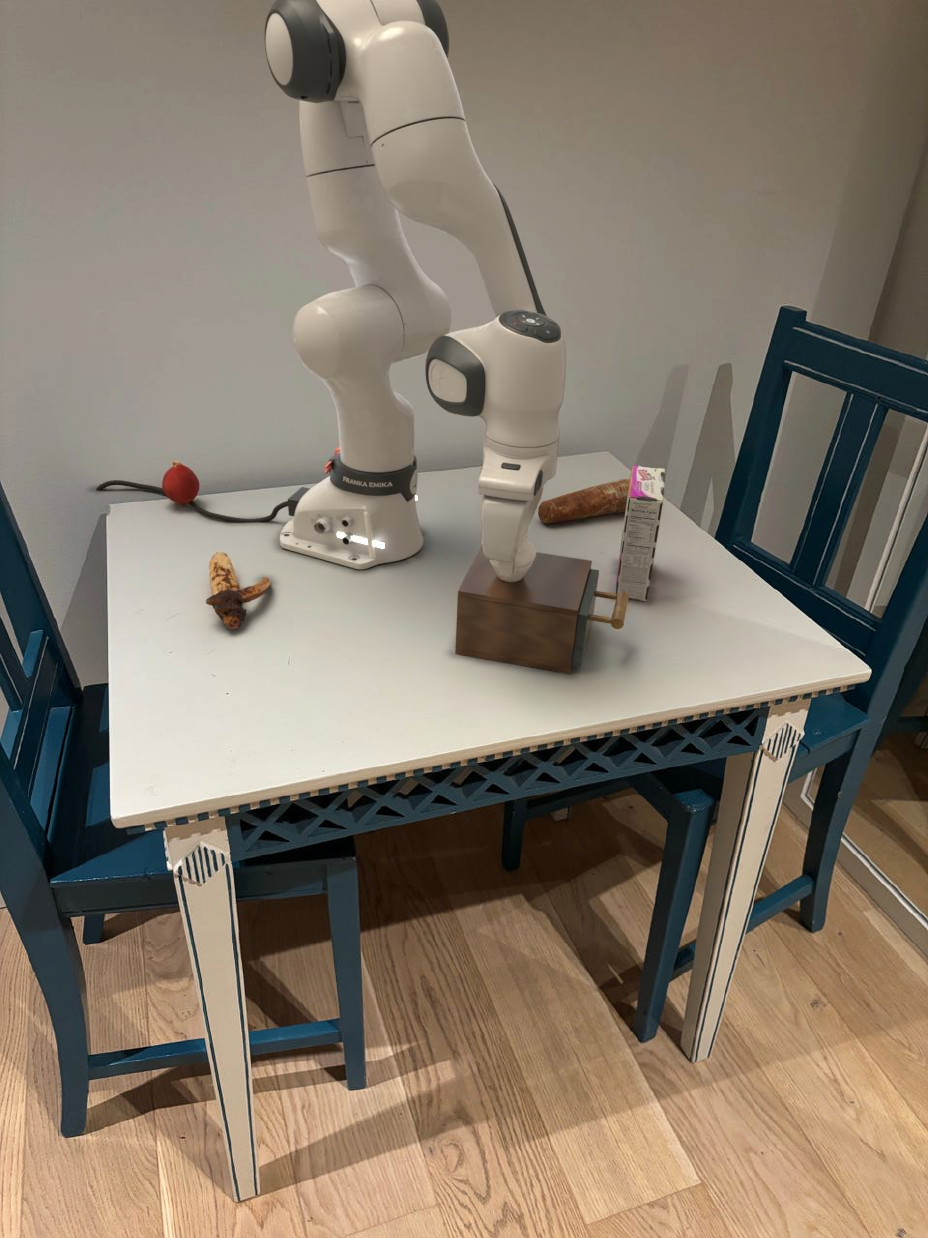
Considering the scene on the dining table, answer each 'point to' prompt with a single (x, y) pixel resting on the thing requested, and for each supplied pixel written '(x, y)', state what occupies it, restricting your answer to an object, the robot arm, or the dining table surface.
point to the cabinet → (522, 612)
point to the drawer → (587, 615)
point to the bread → (586, 502)
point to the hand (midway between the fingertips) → (512, 559)
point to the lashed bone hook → (231, 591)
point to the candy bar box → (640, 531)
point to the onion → (180, 484)
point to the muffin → (519, 561)
